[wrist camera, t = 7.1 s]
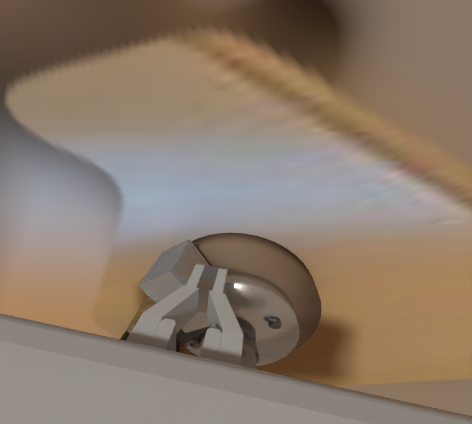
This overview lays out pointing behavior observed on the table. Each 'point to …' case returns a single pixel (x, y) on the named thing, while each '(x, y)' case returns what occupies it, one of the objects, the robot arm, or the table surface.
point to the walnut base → (261, 273)
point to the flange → (241, 300)
